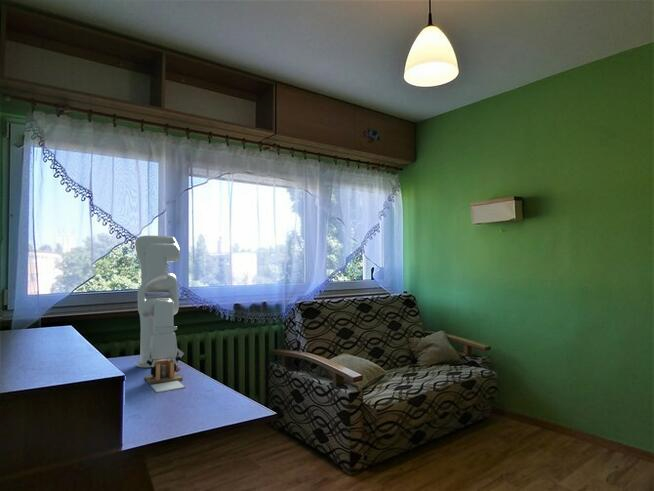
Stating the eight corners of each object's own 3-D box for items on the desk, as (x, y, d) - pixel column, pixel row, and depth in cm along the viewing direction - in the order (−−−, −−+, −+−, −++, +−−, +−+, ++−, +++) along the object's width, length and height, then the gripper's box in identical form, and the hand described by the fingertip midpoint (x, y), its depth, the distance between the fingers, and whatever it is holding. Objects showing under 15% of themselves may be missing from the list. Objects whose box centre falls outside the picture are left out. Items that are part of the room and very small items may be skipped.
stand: (144, 378, 170) (144, 364, 170) (175, 373, 177) (175, 360, 177) (150, 385, 160) (150, 371, 160) (182, 380, 167) (182, 366, 167)
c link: (152, 376, 170) (153, 361, 170) (169, 373, 173) (169, 359, 173) (156, 380, 164) (156, 364, 164) (174, 377, 167) (174, 362, 168)
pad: (151, 386, 159) (151, 385, 159) (178, 381, 165) (178, 380, 165) (156, 392, 151) (156, 391, 151) (184, 387, 157) (184, 386, 157)
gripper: (183, 327, 177) (182, 369, 176) (139, 331, 168) (138, 376, 167) (187, 329, 171) (187, 373, 170) (142, 333, 161) (142, 380, 161)
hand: (163, 374), depth 168 cm, fingers closed on c link, 6 cm apart
